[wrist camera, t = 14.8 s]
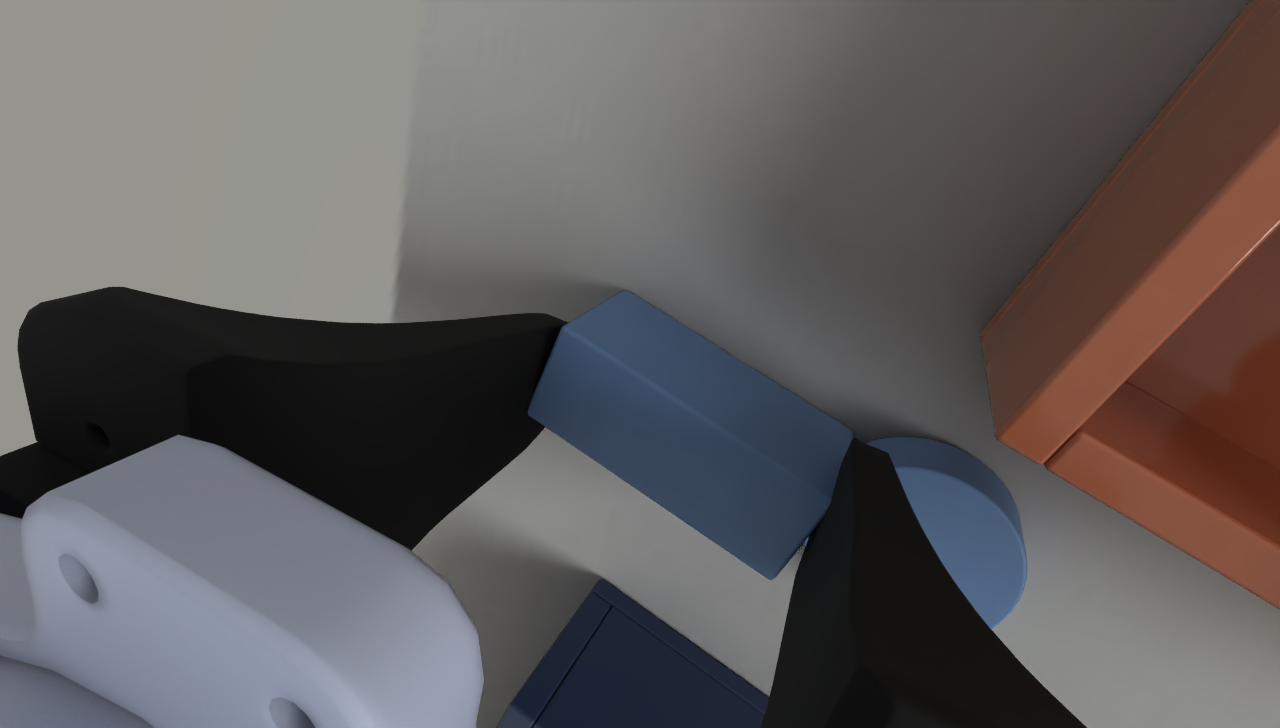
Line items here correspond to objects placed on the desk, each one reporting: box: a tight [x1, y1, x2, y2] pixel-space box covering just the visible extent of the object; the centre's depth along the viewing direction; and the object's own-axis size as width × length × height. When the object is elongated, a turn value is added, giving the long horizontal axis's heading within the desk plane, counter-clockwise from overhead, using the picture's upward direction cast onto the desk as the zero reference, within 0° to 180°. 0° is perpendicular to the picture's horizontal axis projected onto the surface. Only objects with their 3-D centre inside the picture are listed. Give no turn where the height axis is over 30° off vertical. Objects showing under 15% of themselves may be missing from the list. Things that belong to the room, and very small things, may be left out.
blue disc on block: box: [528, 290, 1027, 629], centre depth 12 cm, size 9×4×3 cm, turn 64°
